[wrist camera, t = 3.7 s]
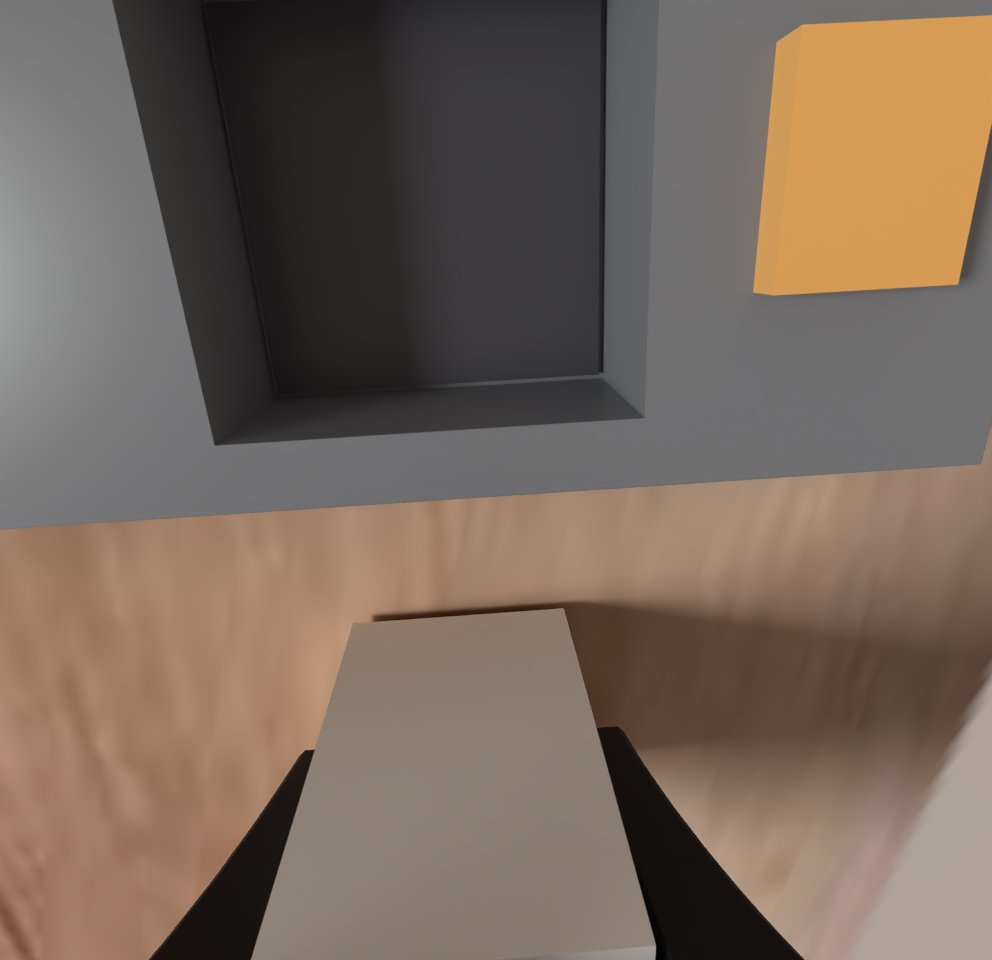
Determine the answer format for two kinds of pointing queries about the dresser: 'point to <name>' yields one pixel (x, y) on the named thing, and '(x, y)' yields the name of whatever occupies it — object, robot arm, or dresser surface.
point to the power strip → (484, 248)
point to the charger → (458, 806)
